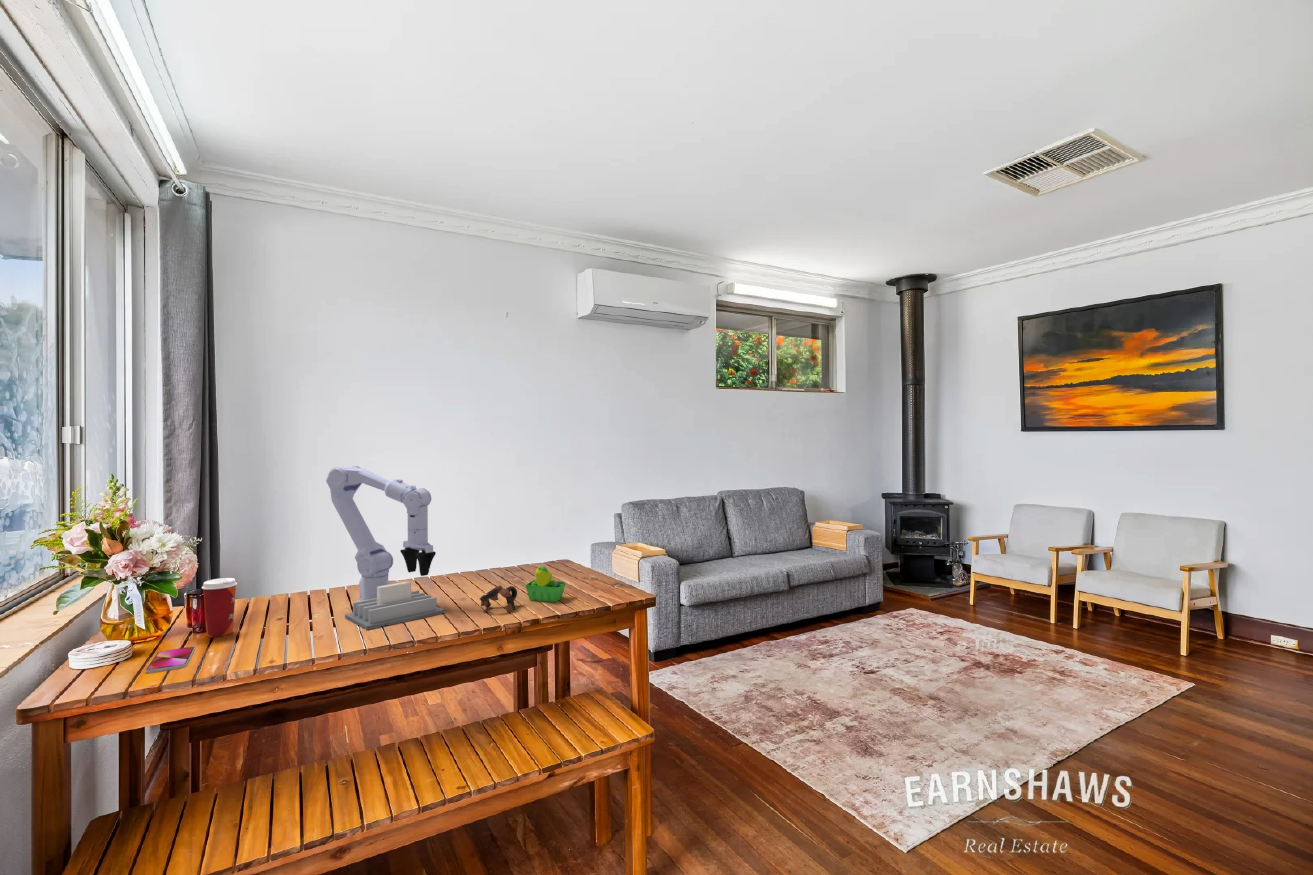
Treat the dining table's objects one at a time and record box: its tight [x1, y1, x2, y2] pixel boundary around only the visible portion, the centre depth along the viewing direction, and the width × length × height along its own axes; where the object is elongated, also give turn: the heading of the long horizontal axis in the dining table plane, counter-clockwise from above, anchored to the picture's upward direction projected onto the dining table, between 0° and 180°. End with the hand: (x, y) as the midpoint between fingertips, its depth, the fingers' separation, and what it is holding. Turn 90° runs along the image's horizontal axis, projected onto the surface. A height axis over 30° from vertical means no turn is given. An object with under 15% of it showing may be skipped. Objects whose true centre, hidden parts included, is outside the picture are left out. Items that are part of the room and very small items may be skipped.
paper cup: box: [201, 577, 238, 638], centre depth 163 cm, size 8×8×14 cm
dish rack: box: [344, 590, 446, 631], centre depth 179 cm, size 16×22×4 cm
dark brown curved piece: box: [479, 584, 518, 614], centre depth 185 cm, size 12×10×8 cm
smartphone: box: [144, 646, 196, 674], centre depth 144 cm, size 7×1×15 cm
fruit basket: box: [524, 565, 567, 603], centre depth 195 cm, size 11×9×11 cm
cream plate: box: [377, 580, 412, 605], centre depth 178 cm, size 2×9×8 cm, turn 135°
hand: (418, 573), depth 188 cm, fingers open, 7 cm apart
